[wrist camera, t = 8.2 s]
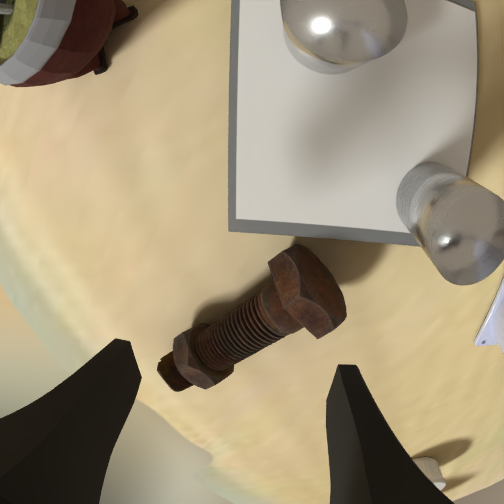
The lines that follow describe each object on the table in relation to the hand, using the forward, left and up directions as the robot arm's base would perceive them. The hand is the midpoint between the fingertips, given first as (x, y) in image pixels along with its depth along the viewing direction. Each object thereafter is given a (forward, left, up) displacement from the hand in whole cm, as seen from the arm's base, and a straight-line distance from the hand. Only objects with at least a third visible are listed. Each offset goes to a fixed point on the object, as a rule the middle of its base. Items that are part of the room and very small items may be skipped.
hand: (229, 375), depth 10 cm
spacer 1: (-3, -12, -8) cm, 15 cm away
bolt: (+1, +6, -11) cm, 13 cm away
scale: (-5, -10, -10) cm, 15 cm away
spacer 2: (-9, -5, -8) cm, 13 cm away
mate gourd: (+11, -14, -11) cm, 21 cm away
